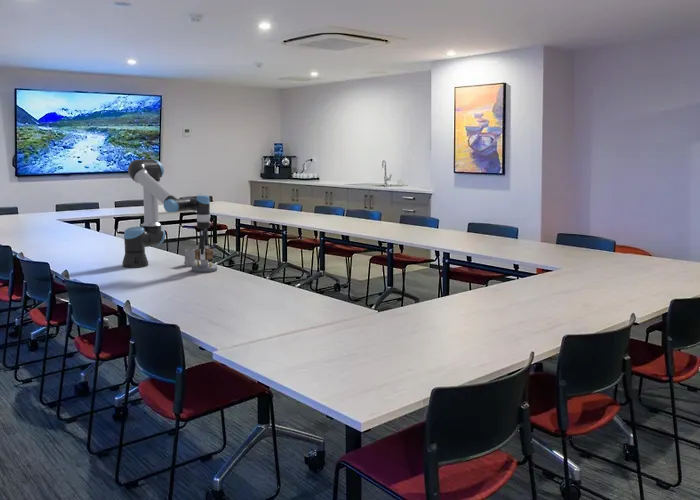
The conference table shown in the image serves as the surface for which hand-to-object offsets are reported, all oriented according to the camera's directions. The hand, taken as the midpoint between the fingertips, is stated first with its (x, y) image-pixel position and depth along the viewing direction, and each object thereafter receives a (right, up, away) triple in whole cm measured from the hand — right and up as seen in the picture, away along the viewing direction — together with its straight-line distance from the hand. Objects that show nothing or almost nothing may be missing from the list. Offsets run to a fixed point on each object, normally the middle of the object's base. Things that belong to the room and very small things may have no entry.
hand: (204, 257), depth 375 cm
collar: (0, 0, 0) cm, 0 cm away
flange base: (0, -7, +1) cm, 8 cm away
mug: (-11, -5, +18) cm, 22 cm away
